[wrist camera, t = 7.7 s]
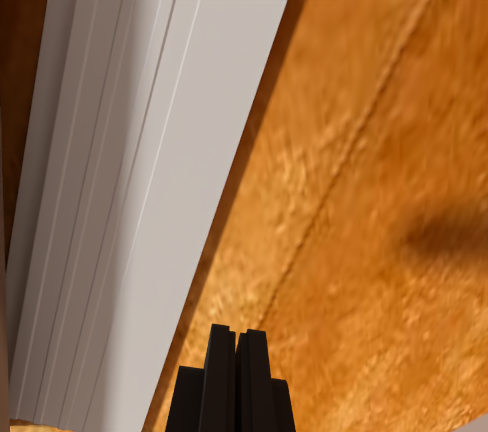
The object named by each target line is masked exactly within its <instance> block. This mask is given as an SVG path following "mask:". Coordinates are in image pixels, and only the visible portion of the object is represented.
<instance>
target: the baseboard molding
mask: <svg viewBox="0 0 488 432" xmlns="http://www.w3.org/2000/svg"><path fill="white" fill-rule="evenodd" d="M286 3H287V0H47V7H46V14H45V20H44V27H43V33H42V40H41V46H40V53H39V59H38V66H37V72H36V79H35V86H34V92H33V99H32V105H31V112H30V118H29V125H28V131H27V138H26V145H25V151H24V158H23V164H22V171H21V177H20V184H19V190H18V197H17V203H16V210H15V217H14V223H13V230H12V236H11V243H10V249H9V256H8V262H7V269H6V276H5V280H6V315H7V349H8V384H9V418H10V419H14V420H16V419H21V420H25V421H30V422H33V424H38V425H41V424H44V425H48V426H53V427H57V428H58V429H61V430H71V431H76V432H141V430H142V427H143V424H144V421H145V419H146V416H147V413H148V410H149V407H150V404H151V401H152V398H153V395H154V392H155V389H156V386H157V383H158V380H159V377H160V374H161V371H162V368H163V365H164V362H165V360H166V357H167V354H168V351H169V348H170V345H171V342H172V339H173V336H174V333H175V330H176V327H177V324H178V321H179V318H180V315H181V312H182V309H183V306H184V304H185V301H186V298H187V295H188V292H189V289H190V286H191V283H192V280H193V277H194V274H195V271H196V268H197V265H198V262H199V259H200V256H201V253H202V250H203V247H204V245H205V242H206V239H207V236H208V233H209V230H210V227H211V224H212V221H213V218H214V215H215V212H216V209H217V206H218V203H219V200H220V197H221V194H222V191H223V188H224V186H225V183H226V180H227V177H228V174H229V171H230V168H231V165H232V162H233V159H234V156H235V153H236V150H237V147H238V144H239V141H240V138H241V135H242V132H243V130H244V127H245V124H246V121H247V118H248V115H249V112H250V109H251V106H252V103H253V100H254V97H255V94H256V91H257V88H258V85H259V82H260V79H261V76H262V73H263V71H264V68H265V65H266V62H267V59H268V56H269V53H270V50H271V47H272V44H273V41H274V38H275V35H276V32H277V29H278V26H279V23H280V20H281V17H282V14H283V12H284V9H285V6H286Z"/></svg>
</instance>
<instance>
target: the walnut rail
mask: <svg viewBox="0 0 488 432" xmlns="http://www.w3.org/2000/svg"><path fill="white" fill-rule="evenodd" d="M0 432H10V418H9V384H8V349H7V315H6V280H5V246H4V211H3V177H2V142H1V108H0Z"/></svg>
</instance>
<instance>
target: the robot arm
mask: <svg viewBox="0 0 488 432" xmlns="http://www.w3.org/2000/svg"><path fill="white" fill-rule="evenodd" d="M235 339H236V333H235V332H233V331H229V326H226V325H219V324H212V326H211V331H210V337H209V342H208V347H207V353H206V358H205V363H204V369H201V368H193V367H186V366H179V370H178V375H177V379H176V384H175V388H174V393H173V397H172V402H171V406H170V411H169V416H168V420H167V425H166V429H165V432H296V430H295V424H294V418H293V412H292V406H291V401H290V395H289V389H288V384H287V382H286V380H281V379H274V378H271V373H270V365H269V356H268V347H267V339H266V332H265V331H260V330H253V329H247V332H246V333H240V336H239V340H238V345H237V349H236V354H235Z"/></svg>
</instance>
